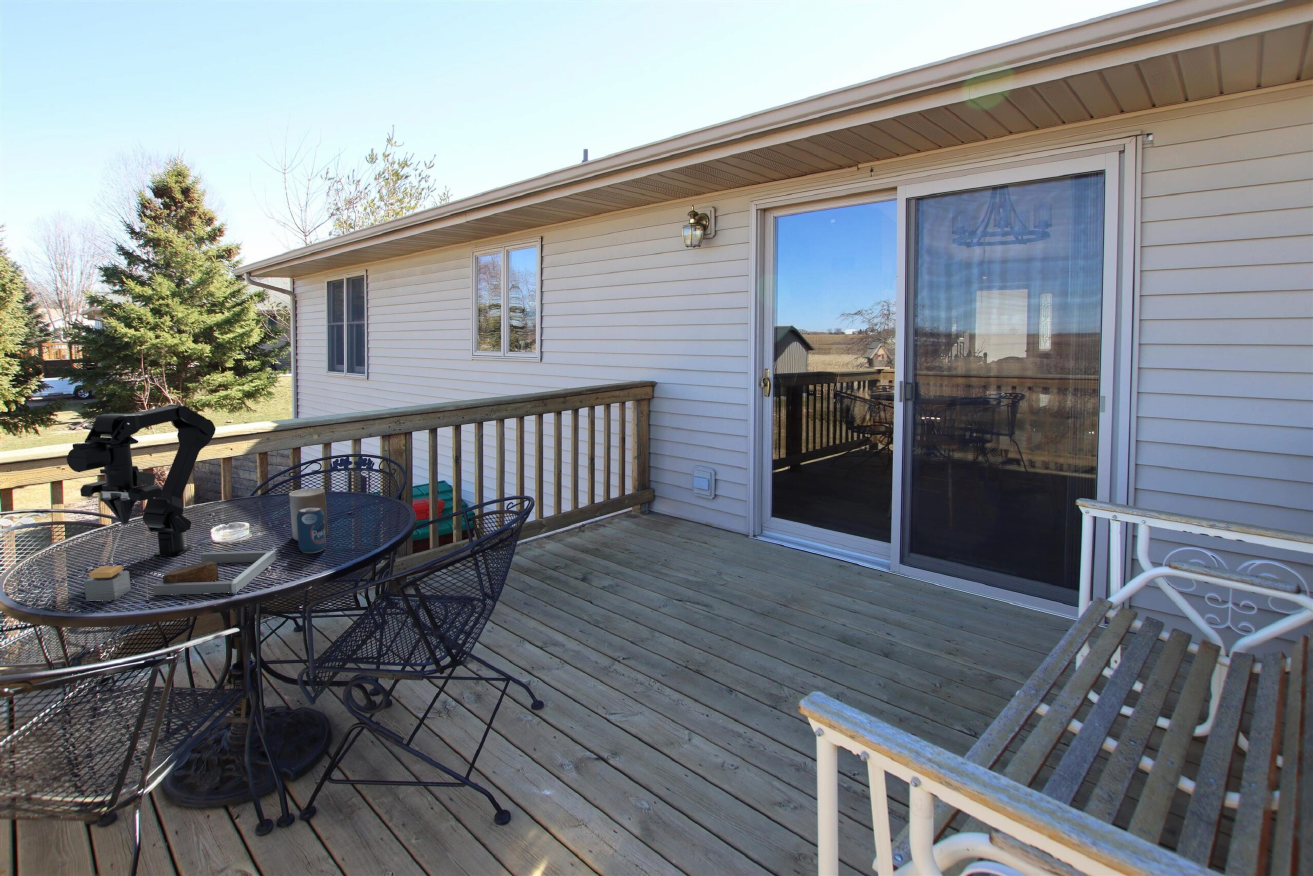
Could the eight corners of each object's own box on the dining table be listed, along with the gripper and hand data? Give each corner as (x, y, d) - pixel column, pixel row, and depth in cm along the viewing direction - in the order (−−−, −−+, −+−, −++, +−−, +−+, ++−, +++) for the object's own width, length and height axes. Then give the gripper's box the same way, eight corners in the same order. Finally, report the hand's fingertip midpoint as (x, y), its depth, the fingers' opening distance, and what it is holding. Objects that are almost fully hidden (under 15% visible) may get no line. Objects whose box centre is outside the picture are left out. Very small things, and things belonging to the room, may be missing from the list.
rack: (204, 561, 185) (203, 552, 185) (276, 559, 188) (275, 550, 187) (154, 596, 162) (152, 586, 162) (236, 593, 165) (235, 583, 164)
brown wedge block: (212, 577, 175) (210, 559, 174) (219, 581, 172) (217, 563, 172) (163, 590, 166) (161, 571, 165) (170, 594, 164) (168, 575, 163)
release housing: (103, 591, 164) (100, 571, 163) (131, 590, 165) (128, 571, 164) (86, 602, 158) (83, 581, 157) (115, 601, 159) (112, 580, 158)
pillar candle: (335, 532, 212) (331, 484, 209) (316, 542, 202) (312, 492, 200) (305, 530, 213) (301, 483, 210) (285, 540, 203) (280, 491, 201)
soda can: (318, 554, 192) (315, 512, 190) (294, 553, 192) (290, 512, 190) (330, 546, 199) (328, 505, 197) (307, 545, 199) (304, 505, 197)
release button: (104, 587, 163) (101, 566, 162) (124, 586, 164) (122, 565, 163) (91, 594, 159) (89, 573, 158) (112, 593, 160) (110, 572, 159)
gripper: (177, 459, 181) (183, 517, 183) (117, 455, 184) (123, 512, 187) (138, 468, 170) (145, 529, 173) (75, 464, 173) (82, 524, 176)
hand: (125, 523), depth 177 cm, fingers closed
